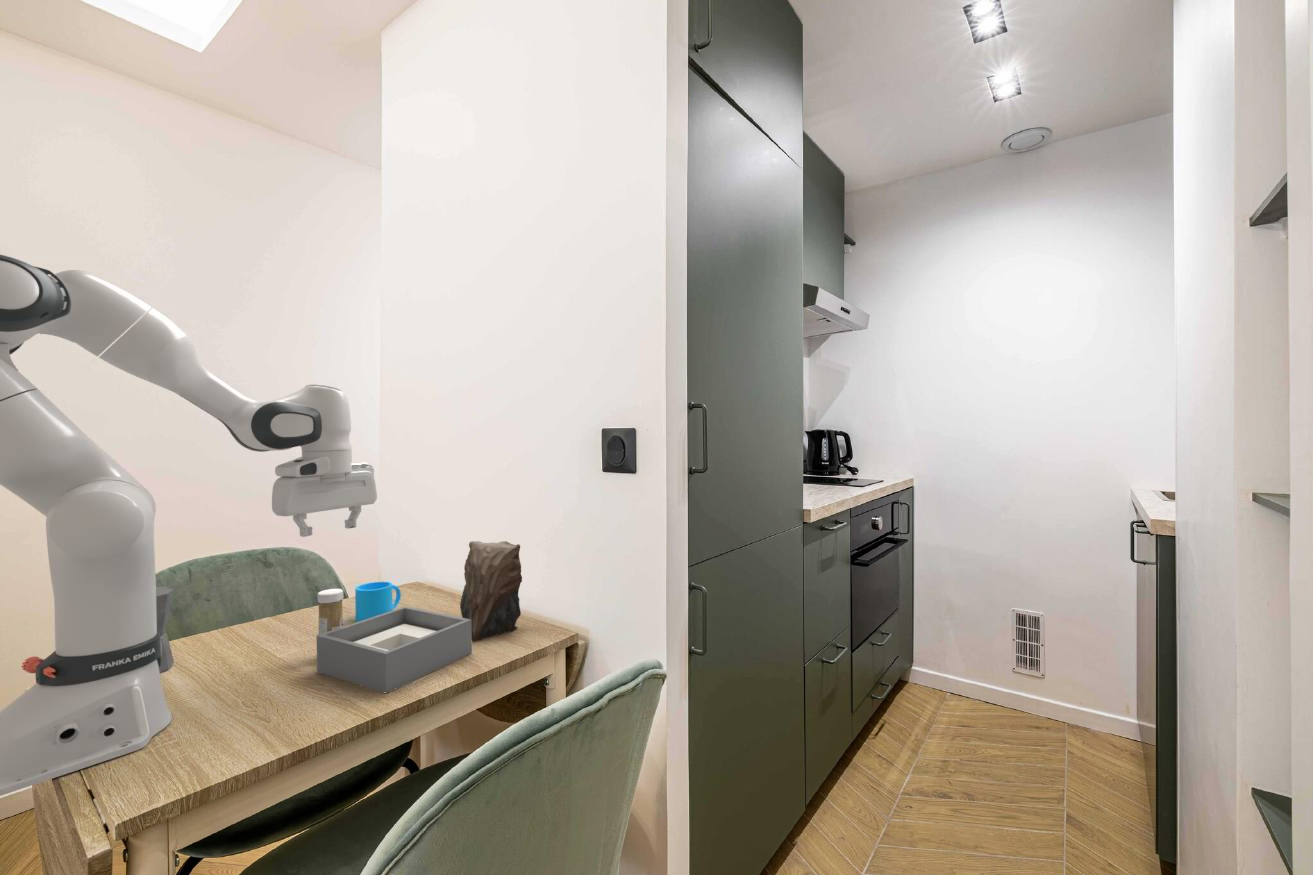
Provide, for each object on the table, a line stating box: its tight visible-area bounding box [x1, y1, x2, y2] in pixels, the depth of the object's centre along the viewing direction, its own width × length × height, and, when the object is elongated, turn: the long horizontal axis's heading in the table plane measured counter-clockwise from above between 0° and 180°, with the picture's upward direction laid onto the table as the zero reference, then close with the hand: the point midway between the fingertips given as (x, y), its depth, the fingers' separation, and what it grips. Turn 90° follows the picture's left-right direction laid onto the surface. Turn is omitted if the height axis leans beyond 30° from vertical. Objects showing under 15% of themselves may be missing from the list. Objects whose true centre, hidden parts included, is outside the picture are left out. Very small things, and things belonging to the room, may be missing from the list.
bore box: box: [316, 605, 473, 694], centre depth 112 cm, size 20×20×7 cm
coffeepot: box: [156, 586, 175, 674], centre depth 107 cm, size 15×9×18 cm, turn 6°
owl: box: [459, 540, 523, 642], centre depth 130 cm, size 13×13×20 cm
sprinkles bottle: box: [317, 588, 344, 635], centre depth 115 cm, size 5×5×14 cm
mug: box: [354, 581, 402, 623], centre depth 140 cm, size 12×8×8 cm
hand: (329, 531), depth 115 cm, fingers open, 8 cm apart
